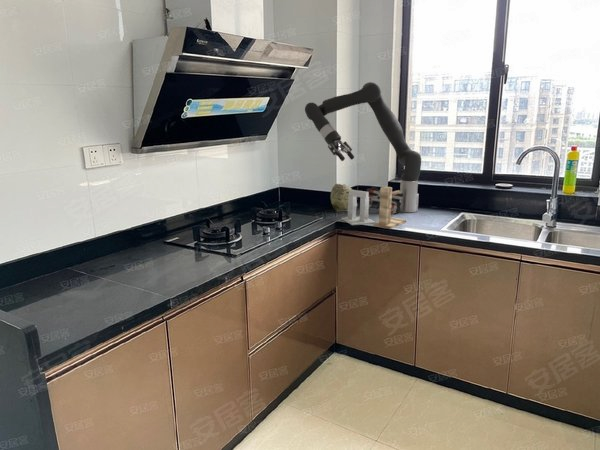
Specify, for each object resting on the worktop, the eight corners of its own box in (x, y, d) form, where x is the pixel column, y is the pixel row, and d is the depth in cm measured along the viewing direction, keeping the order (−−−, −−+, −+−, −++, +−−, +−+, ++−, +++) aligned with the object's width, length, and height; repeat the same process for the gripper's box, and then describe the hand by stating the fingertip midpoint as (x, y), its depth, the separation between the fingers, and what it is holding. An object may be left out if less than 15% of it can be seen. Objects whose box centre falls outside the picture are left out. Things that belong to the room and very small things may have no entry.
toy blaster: (398, 220, 240) (405, 193, 237) (360, 213, 240) (366, 186, 236) (396, 218, 244) (403, 192, 240) (359, 211, 243) (365, 185, 240)
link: (347, 219, 227) (348, 190, 224) (351, 217, 230) (352, 189, 226) (364, 222, 221) (365, 192, 217) (368, 220, 224) (369, 191, 220)
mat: (364, 217, 234) (364, 216, 233) (375, 223, 222) (376, 221, 221) (341, 219, 230) (341, 218, 229) (352, 225, 218) (352, 224, 217)
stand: (390, 219, 229) (392, 182, 224) (406, 222, 223) (408, 184, 219) (373, 226, 216) (374, 187, 211) (389, 229, 211) (391, 189, 206)
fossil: (327, 211, 248) (328, 184, 244) (347, 205, 261) (348, 180, 257) (340, 213, 242) (341, 186, 238) (360, 208, 255) (360, 182, 251)
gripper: (326, 130, 219) (345, 155, 215) (342, 129, 230) (360, 153, 226) (317, 140, 224) (335, 165, 220) (333, 139, 235) (351, 162, 231)
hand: (348, 159), depth 223 cm, fingers open, 8 cm apart
